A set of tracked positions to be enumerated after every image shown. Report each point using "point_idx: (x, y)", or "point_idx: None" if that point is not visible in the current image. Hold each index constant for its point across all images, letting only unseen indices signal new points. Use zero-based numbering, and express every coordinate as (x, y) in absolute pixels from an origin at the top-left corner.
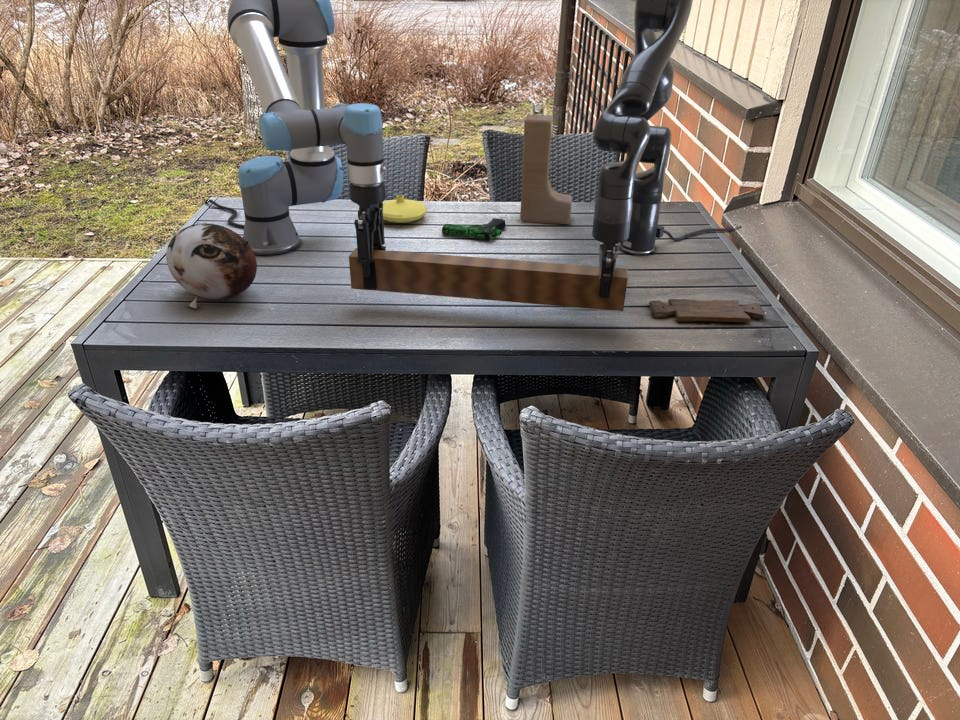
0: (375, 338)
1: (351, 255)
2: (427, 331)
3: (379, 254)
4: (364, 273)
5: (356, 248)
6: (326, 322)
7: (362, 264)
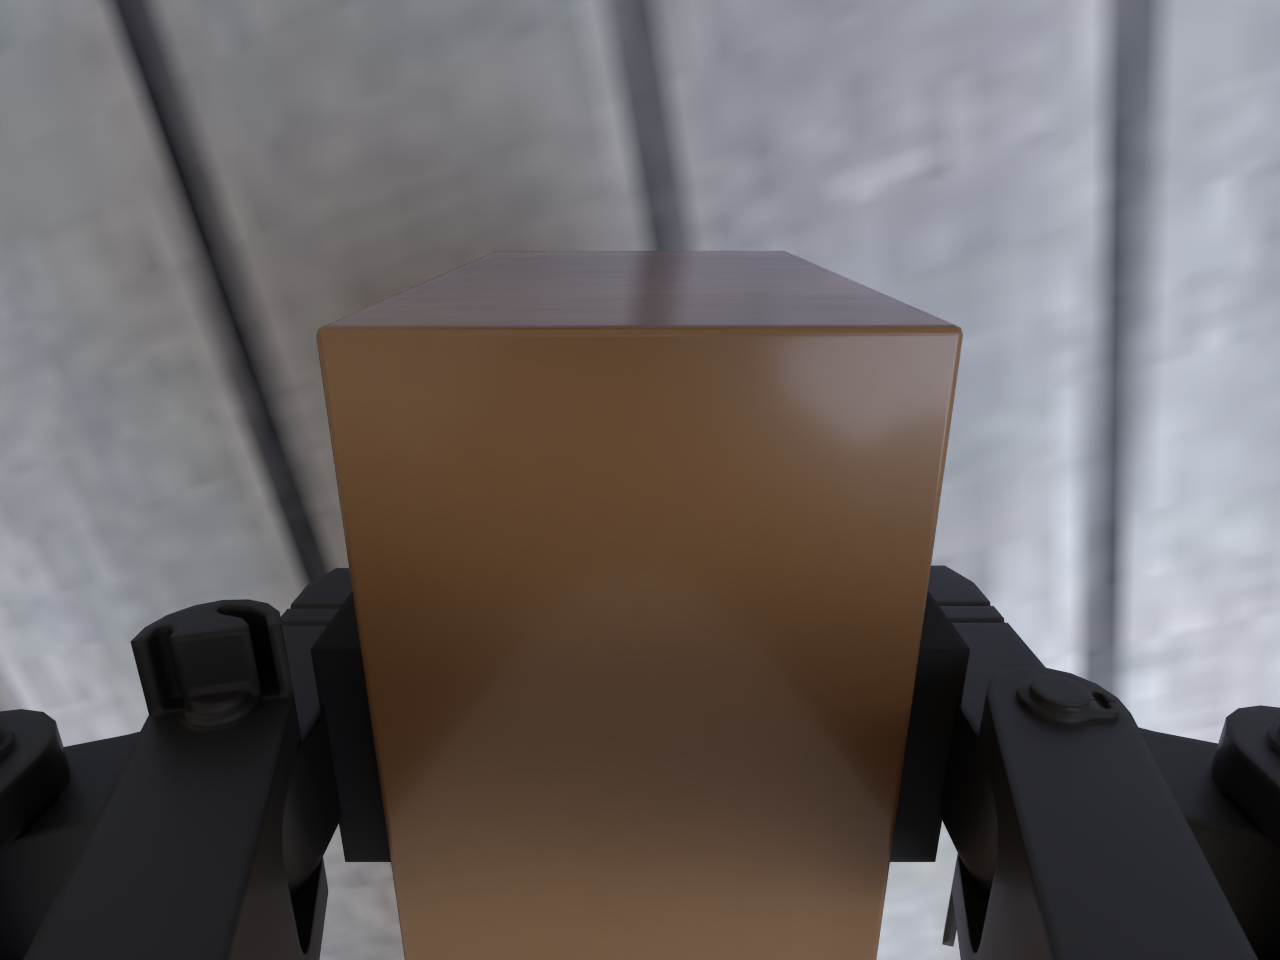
0: (105, 574)
1: (389, 392)
2: (342, 865)
3: (626, 941)
4: (299, 603)
5: (928, 367)
6: (201, 45)
7: (332, 620)
